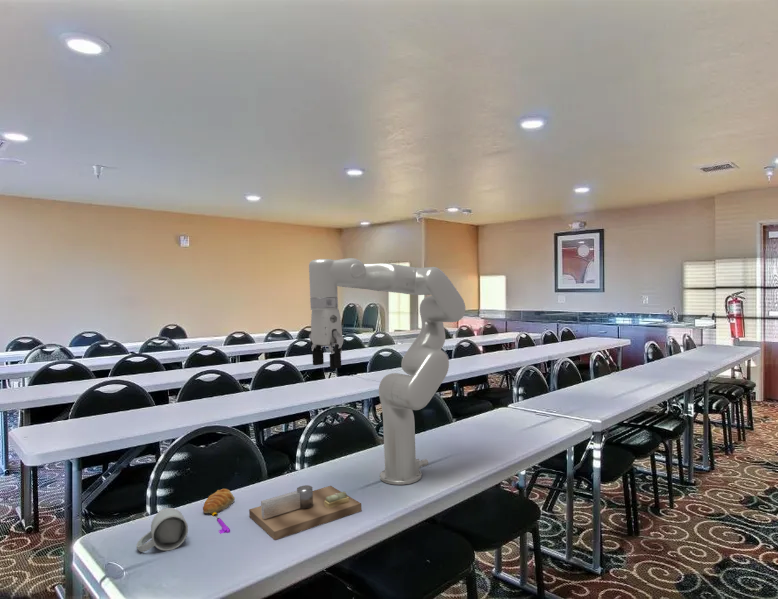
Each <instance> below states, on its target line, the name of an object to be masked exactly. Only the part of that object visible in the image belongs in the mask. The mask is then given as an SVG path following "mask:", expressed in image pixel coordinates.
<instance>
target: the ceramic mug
mask: <svg viewBox="0 0 778 599" xmlns="http://www.w3.org/2000/svg"><path fill="white" fill-rule="evenodd" d="M152 518H153V519H152V521H151V524H150V531H148V532H147V533H146V534H144V535H143V536H142V537H141V538H140V539H139V540H138V541H137V543H136V548H137V550H138V552H140V553H143V552H147V551H148V550H150V549H152V548H154V547H155V548H156V549H158V550H160V551H164V552H165V551H173V550H176V549H177V548H179V546H181V545H183V543H184V542H185V541H186V538H187V537H188V536H187V535H188V532H189V527H188V526H189V525H188V523H187V521H186V519H185V517H184V515H183V514H182V512H181V511H180V510H178V509H176V508H173V507H166V508H164V509H162V510H160V511H158V512H157V513H156V514H155V515H154V517H152Z"/></svg>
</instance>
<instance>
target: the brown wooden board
mask: <svg viewBox="0 0 778 599" xmlns="http://www.w3.org/2000/svg"><path fill="white" fill-rule="evenodd" d="M248 512H249V514H248V515H249V518H250V519H251V520H252V521H253V522H254V523H255V524H257V526H258V527H260V528H261V529H262V530H263V531H264V532H265V533H266V534H268V535H269V537H270V538H272V539H273V540H274V541H277V540H279V539H283V538H286V537H288V536H291V535H294V534H297V533H300V532H304V531H306V530H310V529H312V528H315V527H317V526H321V525H324V524H327V523H330V522H333V521H335V520H339V519H341V518H345V517H348V516H350V515H351V516H352V515H354V514H357V513H359V512H360V513H361V512H362V502H360V501H358V500H356V499H354V498H352V497H351V496H349V495H348V494H347V492H346V491H341V490H339V489H337V488H336V487H333V486H332V485H329V486H326V487H321V488H318V489H315V490H314V489H313V506H312V507H309V508H304V509H303V508H299V509H296V510H293V511H290V512H286V513H283V514H280V515H277V516H273V517H270V518H267V519H263V518H262V510H261V505H259V506H256V507H253V508H249V509H248Z"/></svg>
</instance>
